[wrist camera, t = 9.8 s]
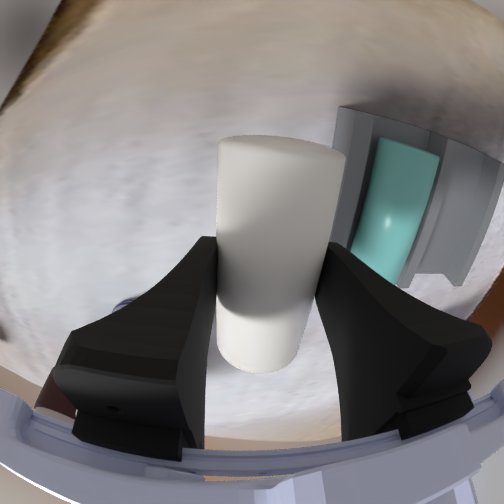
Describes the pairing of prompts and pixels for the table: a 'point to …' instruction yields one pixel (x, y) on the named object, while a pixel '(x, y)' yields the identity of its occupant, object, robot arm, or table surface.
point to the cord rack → (440, 199)
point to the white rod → (271, 244)
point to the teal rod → (393, 206)
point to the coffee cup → (55, 402)
